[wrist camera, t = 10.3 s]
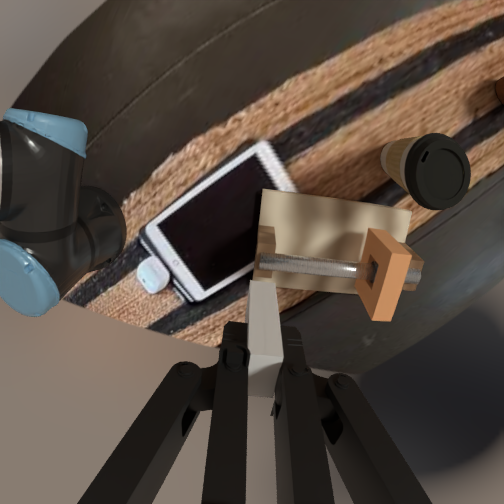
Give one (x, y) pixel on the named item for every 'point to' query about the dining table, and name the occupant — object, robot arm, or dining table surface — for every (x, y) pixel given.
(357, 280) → the orange square ring
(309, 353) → the dining table surface
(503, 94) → the wooden figurine
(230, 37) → the dining table surface
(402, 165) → the coffee cup
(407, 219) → the wooden rod stand
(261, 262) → the pipe
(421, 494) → the robot arm
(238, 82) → the dining table surface
